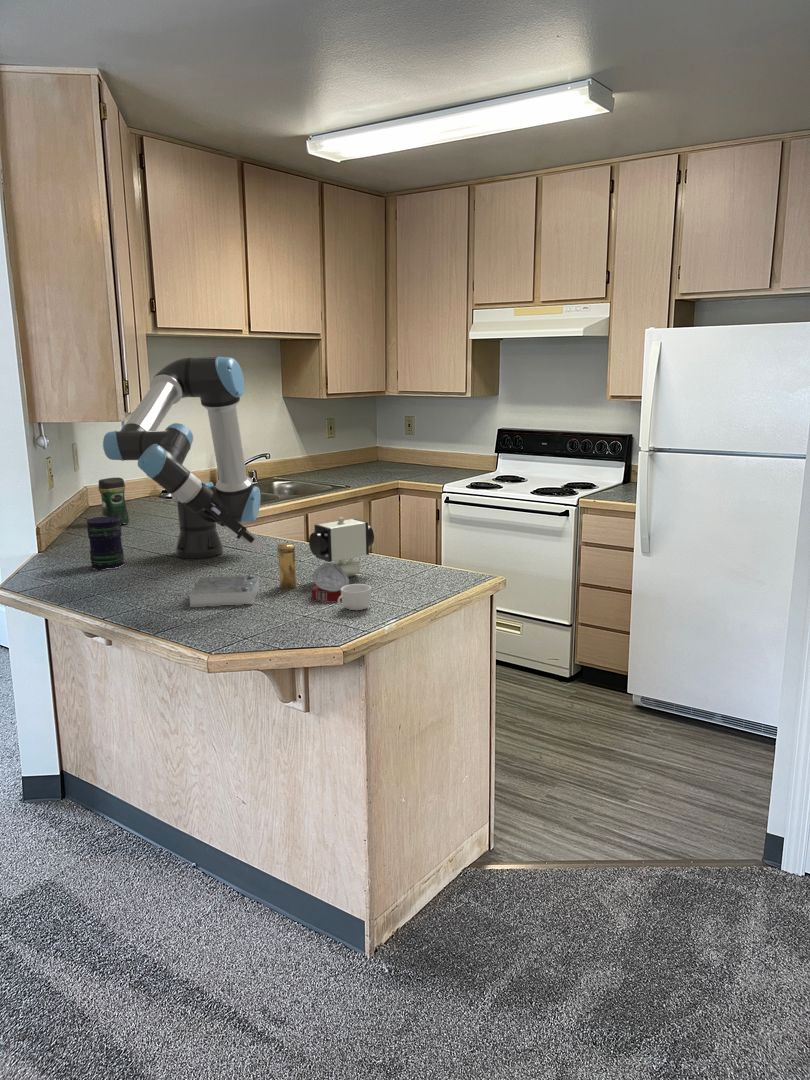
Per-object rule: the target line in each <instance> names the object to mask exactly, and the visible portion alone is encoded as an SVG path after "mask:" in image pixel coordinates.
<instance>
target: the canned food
mask: <svg viewBox="0 0 810 1080" xmlns="http://www.w3.org/2000/svg"><path fill="white" fill-rule="evenodd" d="M349 578H350V577H348V576H347V575H346V573H345V572H344V571H343V570H342V568H341V567H339V566H338V565H336V564H331V562H326V563H323V564H321V565H319V566H318V567H317V568H315V570H314V572H313V574H312V582H313V583H314V584H313V585H312V586H311V599H312V598H313V599H312V600H314V601H316V600H317V601H316V602H320V601H336V602H338V598H339V597H340V596H341V588H342V587H343V586H346V585H350V579H349ZM340 600H341V601H342V598H341V599H340Z"/></svg>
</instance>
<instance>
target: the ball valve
mask: <svg viewBox="0 0 810 1080" xmlns="http://www.w3.org/2000/svg"><path fill="white" fill-rule="evenodd" d="M374 541H375V534H374V531H373V528H372V527H371V526H370V525H369V522H368V521H365V520H360V519H358V518H350V519H345V518H344V517H338V520H337V521H331V522H326V523H318V524H314V529H313V532H312V533H310V535H309V540H308V546H309V549H310V552H311V554H313V556H315V558H317V559H319V560H322V561H325V562H326V563H331V564H336V565H338V566H339V567H341V568H342V570H343V571H344V572H345V573H346V575H347V576H348V578H351V577H354V576H356V575H358V574H359V573H360V569H361V568H360V565H359V562H357V561H355V560H354V558H356V557H362V556H367V555H369V554H370V549H371V547H372V546H373V544H374Z"/></svg>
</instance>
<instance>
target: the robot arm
mask: <svg viewBox="0 0 810 1080" xmlns="http://www.w3.org/2000/svg"><path fill="white" fill-rule="evenodd" d="M244 393H245V379H244V373H243V370H242V368H241V366H240V364H239V363H238V361H237V360H236V359H234V357H228V356H226V357H223V356H211V357H210V356H208V357H203V356H202V357H183V358H179V359H176V360H174V361H171V362H170V363H169V364H167V365H165V366H164V367H162V368H161V369H160V370H159V371H158V372H157V373H156V374H155V375H154V376H153V378H152V379H151V380H150V383H149V390H148V391H147V393H145V395H144V397H143V398H142V399H141V401H140V402H139V404H138V405H137V407H136V408H135V409H134V411H133V412H132V414H131V415H130V416H129V418H128V420H127V421H125V423H124V425H123V427H121V429H120V430H119V431H117V430H114V431H108V432H106V433H105V435H104V436H103V439H102V440H103V441H102V447H103V452H104V454H105V456H106V458H107V459H109V460H112V461H121V462H124V461H137V467H138V468H139V469H140V470H141V471H142V472H143V473H144V474H146V476H147V477H148V478H150V479H152V481H154V482H155V483H157V484H158V485H159V486H160V487H162V489H164V490H165V491H166V492H167V493H169V494H170V495H171V496H172V497H171V498H172V500H173V501H175V500H176V499H177V500H176V503H177V504H176V505H177V515H178V525H179V535H178V538H177V542H176V546H175V556H176V557H179V558H182V559H194V560H195V559H206V558H207V559H208V558H211V557H212V556H213V557H216V555H217V556H220V555H221V553H222V554H223V553H224V545H223V543H222V541H221V538H220V536H219V532H218V530H217V525H219V526H221V527H223V529H224V530H226V531H227V532H228V533H229V534H231V535H232V536H233V537H234V538H236V539H237V540H238V541H239V542H240V543H243V542H245V543H246V544H247V545H248V546H250V547H251V548H252V549H253V550H254V551H255V552H256V553H259V551H260V550H261V549H262V548H263V547H264V546H265V543H264V542H263V541H261V539H259V538H258V537H256V536H255V535H254V534H253V533H252V532H250V531H249V529H248V528H247V527H246V526H244V525H243V524H244V523H253V522H254V521H256V519H257V518H258V515H259V512H260V509H261V507H260V506H261V497H262V496H261V490H260V487H258V486H256V485H255V486H254V485H253V479H252V478H251V477H250V476H247V470H246V469H247V468H246V463H245V457H244V449H243V444H242V439H241V438H242V437H241V431H240V425H239V418H238V411H237V405H238V404H239V403H240V401H241V398H240V397H242V396H243V395H244ZM185 398H199V399H200V405H201V406H202V407H203V408H205V409H206V410H207V416H208V421H209V425H210V427H209V428H210V432H211V433H210V434H211V438H212V443H213V450H214V456H215V462H216V467H217V474H218V481H217V482H216V483H215V485H214V483H213V482H212V481H204V482H202V480H201V479H200V478H199V477H197V476H196V475H195V474H194V473H193V472H191V471H190V470H188V469H187V468H186V467H185V466H184V465H183V464H184V462H185V460H186V458H187V456H188V454H189V451H190V450H191V448H192V444H193V442H194V435H193V433H192V431H191V429H190V428H189V427H188V426H186V425H185V424H184V423H183V424H182V423H177V422H175V423H171V424H170V425H168V426H167V427H166V428H165V429H164V430H157V429H158V428H159V427H160V425H161V423H162V422H163V421H164V419H165V417H166V416H167V414H168V412H170V410H171V408H172V407H173V405H175V404H177V403H179V402H180V401H181V399H185ZM219 554H220V555H219ZM213 557H212V558H213Z"/></svg>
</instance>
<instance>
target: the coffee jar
mask: <svg viewBox="0 0 810 1080" xmlns="http://www.w3.org/2000/svg"><path fill="white" fill-rule="evenodd" d="M125 491H126V485H125V481H124V479H123V478H122V477H109V478H108V477H107V478H103V479H99V480H98V492H99V493H100V496H101V517H107V516H113V517H119V518H120V524H123V523H128V522H129V523H130V519H129V514H128V513H129V512H128V509H127V505H126V500H125V499H126V498H125ZM129 523H128V524H129Z"/></svg>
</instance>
